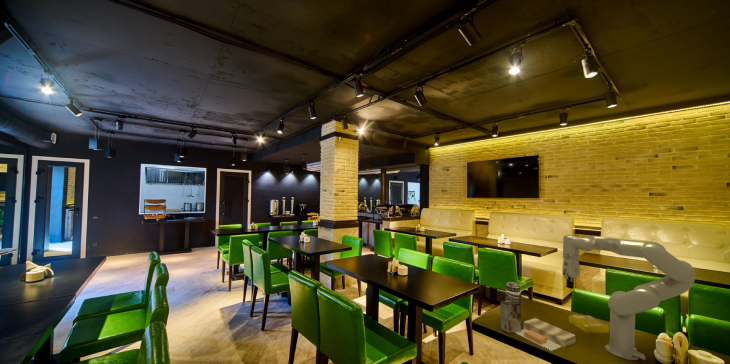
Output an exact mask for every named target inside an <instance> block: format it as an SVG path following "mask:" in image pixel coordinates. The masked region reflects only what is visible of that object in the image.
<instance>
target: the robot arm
mask: <svg viewBox="0 0 730 364" xmlns="http://www.w3.org/2000/svg"><path fill="white" fill-rule="evenodd" d="M562 240H563V241H562V243H563V244H562V269H561V270H562V271H561V272H562V276H564V277H563V278H564V279H565V281H566V282H565V283H566V286H565V287H566V288H568V289H570V290H573V289H574V288H575V280H576V279H575V278H577V277H579V276H580V251H583V252H590V251H593V250H596V251H606V252H610V253H611V252H612V253H614V254H616V255H618V256H625V257H633V258H641V259H645V260H646V261H648V263H649V264H651V265H652V266H654V267H655V268H656V269H658V270H659V271H660V272H662V273H663V274H664V275H665V276H663V277H662V278H661V277H660V278H657V279H656V280H652V281H650V282H649V281H648V282H646V283H643V284H639V285H636V286H635V287H634V288H633V289H632V290H628V291H623V290H618V291H614V292H613V293H611V295H610V296H609V298H608V300H607V305H608V309H610V311H609V343H607V344H605V350H606V351H607V352H608V353H610V354H611V355H614V356H615V357H618V358H621V359H623V360H628V361H638V360H639V359H641V360H643V361H646V358H647V356H645V354H644V353H641V352H639V351H638V350H637V347H635V335H636V331H635V329H636V328H635V327H636V314H639V313H643V312H647V311H651V310H653V309H655V308H657V307H658V306H659V305H660V302H662V301H665V300H669V299H671V298H674V297H677V296H680V295H683V294H684V293H686V292H689V290H690V289H691V288H692V287H693V285H694V283H695V282H696V281H695V280H696V274H695V273H696V271H695V269H694V267H693V265H691V264H690V263H689V262H687V261H685V260H682V259H681V260H680V259H679V258H677V257H675V256H674V255H672V253H670V252H669V251H667V250H666V248H665V246H664V245H663V244H661V243H660V242H656V241H650V240H649V241H648V240H637V239H636V240H634V239H624V238H614V237H613V238H611V237H606V236H605V237H603V236H592V235H588V236H584V237H579V236H577V235H574V234H564V235H563V238H562Z"/></svg>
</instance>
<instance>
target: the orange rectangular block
mask: <svg viewBox="0 0 730 364" xmlns="http://www.w3.org/2000/svg"><path fill="white" fill-rule="evenodd" d="M524 337H526V338H528V339H530V340H532V341H534V342H536V343H538V344H540V345H541V344H543V343H546V342H547V337H545V336H542V335H540V334H538V333H536V332H534V331H532V330H528V331H526V332H524ZM524 337H523V338H524ZM526 338H525V339H526ZM528 339H527V340H528ZM530 340H529V341H530ZM532 341H531V342H532ZM534 342H533V343H534ZM536 343H535V344H536ZM538 344H537V345H538ZM540 345H539V346H540Z"/></svg>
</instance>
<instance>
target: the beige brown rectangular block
mask: <svg viewBox="0 0 730 364" xmlns="http://www.w3.org/2000/svg"><path fill="white" fill-rule="evenodd" d="M522 325H523V326H522V327H523V329H526V330H532V331H534V332H536V333H538V334H540V335H542V336H545V337H547V339H548V340H550V341H552V342H554V343H556V344H558V345H560V346H562V347H561V348H563V349H564V348H567V347H569V346H572V345H574V344H575V343H576V340H577V339H576V334H574V333H571V332H569V331H567V330H564V329H561V328H560V327H558V326H555V325H552V324H550V323H548V322H545V321H543V320H540V319H539V318H536V317H533V318H531V319H528V320H525V321H523V324H522ZM523 329H522V330H523Z"/></svg>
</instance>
